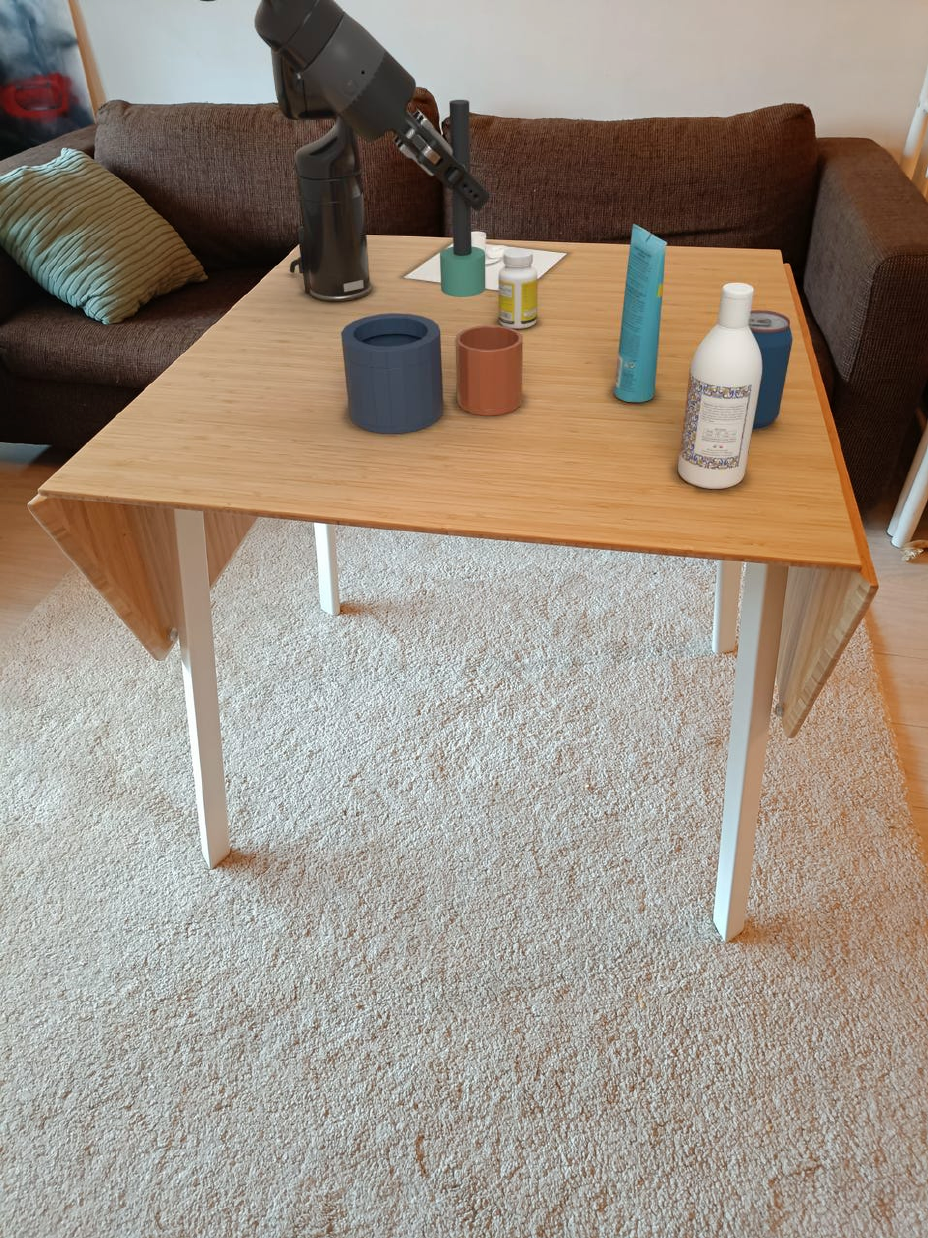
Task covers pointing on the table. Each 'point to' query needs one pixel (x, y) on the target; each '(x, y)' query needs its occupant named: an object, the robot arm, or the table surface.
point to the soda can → (770, 362)
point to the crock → (489, 369)
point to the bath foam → (722, 396)
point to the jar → (393, 372)
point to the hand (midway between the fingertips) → (480, 199)
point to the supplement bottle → (517, 289)
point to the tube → (641, 318)
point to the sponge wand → (461, 220)
